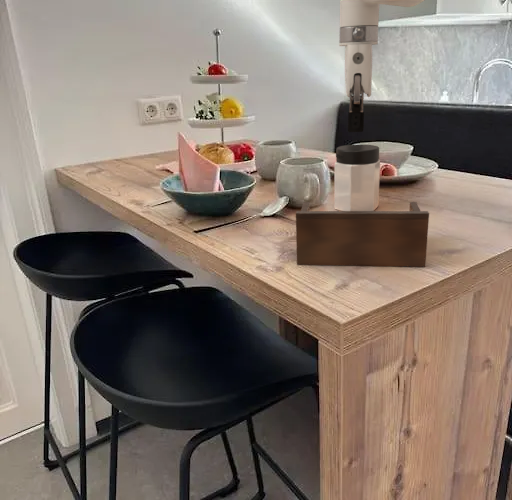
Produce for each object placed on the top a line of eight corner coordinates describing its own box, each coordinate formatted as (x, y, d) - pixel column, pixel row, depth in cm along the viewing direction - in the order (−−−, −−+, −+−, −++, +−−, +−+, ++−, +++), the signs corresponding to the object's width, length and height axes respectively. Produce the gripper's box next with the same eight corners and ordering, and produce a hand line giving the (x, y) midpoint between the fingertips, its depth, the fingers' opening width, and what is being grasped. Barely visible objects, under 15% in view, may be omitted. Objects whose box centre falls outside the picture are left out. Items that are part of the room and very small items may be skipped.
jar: (342, 201, 106) (343, 143, 101) (381, 203, 102) (383, 144, 98) (329, 212, 98) (329, 150, 94) (371, 215, 95) (373, 151, 90)
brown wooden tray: (296, 264, 73) (295, 213, 70) (304, 236, 85) (303, 191, 82) (425, 267, 70) (429, 213, 67) (414, 237, 82) (417, 190, 79)
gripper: (380, 34, 92) (375, 136, 98) (375, 38, 106) (372, 126, 112) (338, 36, 93) (336, 136, 100) (339, 39, 107) (338, 127, 113)
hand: (355, 131), depth 106 cm, fingers closed
